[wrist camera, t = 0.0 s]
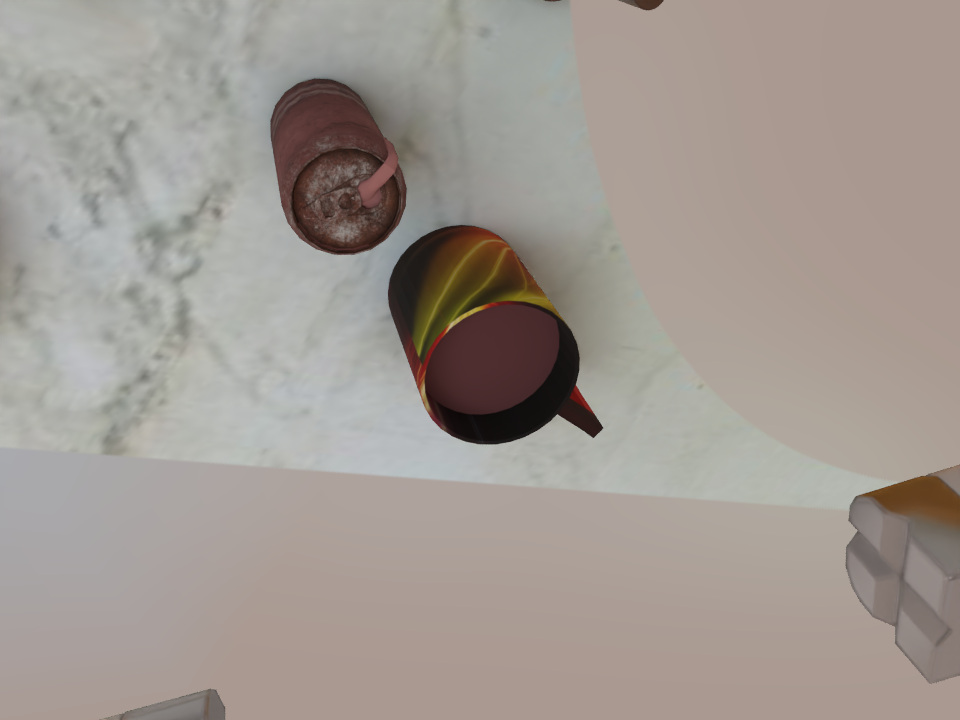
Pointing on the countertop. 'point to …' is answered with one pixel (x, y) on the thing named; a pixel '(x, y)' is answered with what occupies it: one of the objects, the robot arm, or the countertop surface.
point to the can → (335, 169)
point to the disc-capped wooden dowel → (639, 3)
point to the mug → (484, 339)
